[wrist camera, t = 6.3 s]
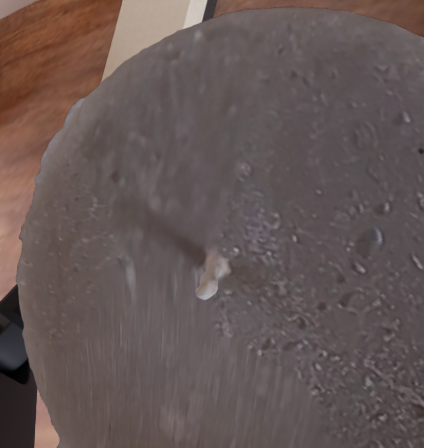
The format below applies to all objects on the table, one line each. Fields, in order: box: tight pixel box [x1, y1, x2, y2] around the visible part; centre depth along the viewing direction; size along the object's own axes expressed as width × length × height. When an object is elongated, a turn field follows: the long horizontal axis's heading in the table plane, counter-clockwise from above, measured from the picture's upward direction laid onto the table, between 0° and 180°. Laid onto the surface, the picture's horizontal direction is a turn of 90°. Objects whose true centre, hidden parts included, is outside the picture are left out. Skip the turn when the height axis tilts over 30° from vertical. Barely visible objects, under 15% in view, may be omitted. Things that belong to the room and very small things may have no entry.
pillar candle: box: [16, 7, 424, 448], centre depth 10 cm, size 10×10×15 cm
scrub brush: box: [101, 0, 217, 82], centre depth 19 cm, size 6×13×4 cm, turn 165°
